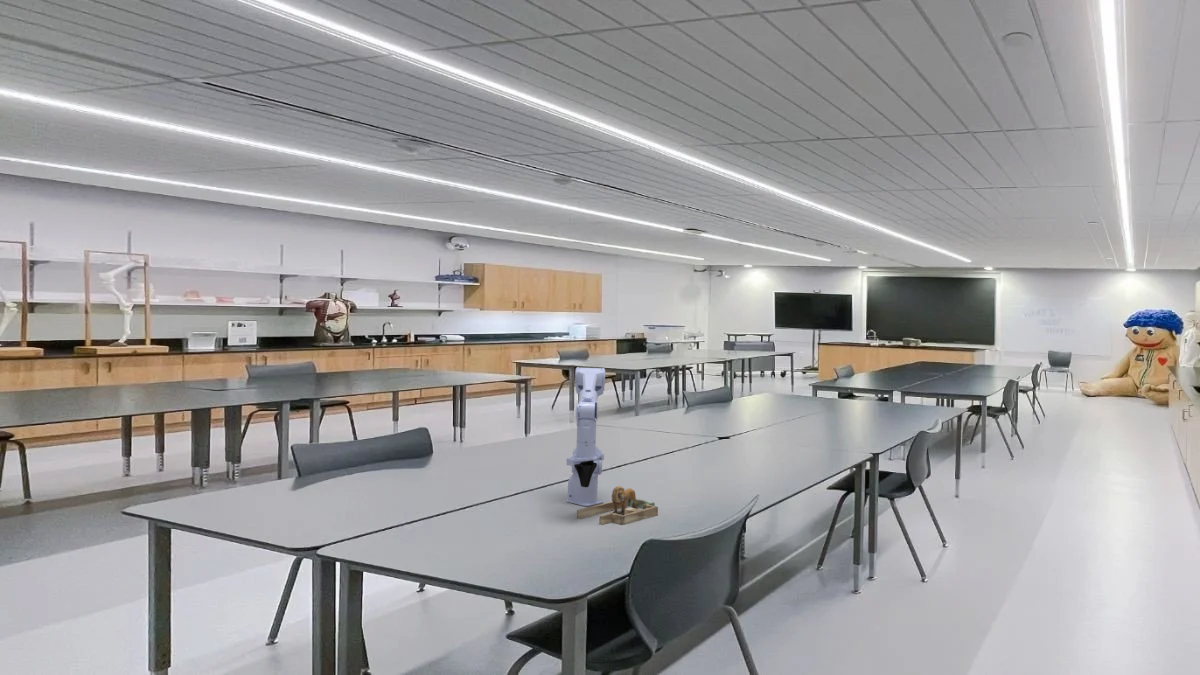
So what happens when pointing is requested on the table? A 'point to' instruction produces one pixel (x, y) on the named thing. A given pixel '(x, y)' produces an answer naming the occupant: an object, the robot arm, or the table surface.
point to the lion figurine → (623, 498)
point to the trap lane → (629, 516)
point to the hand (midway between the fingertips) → (584, 486)
